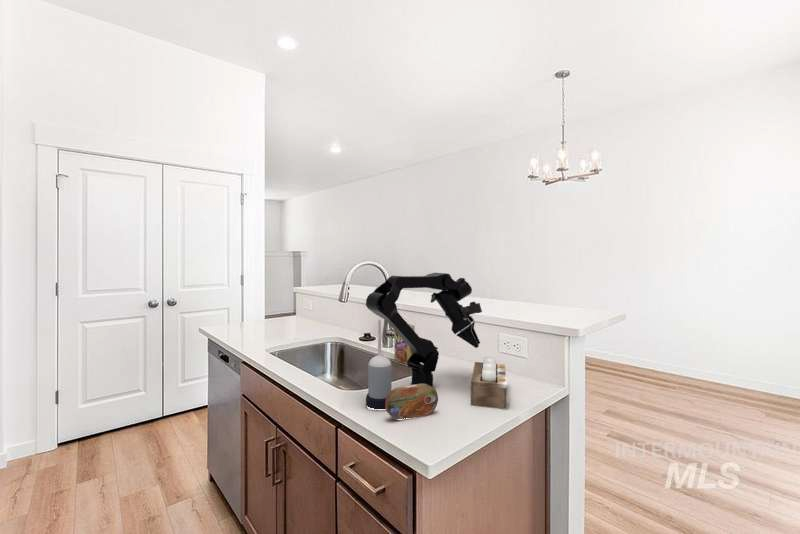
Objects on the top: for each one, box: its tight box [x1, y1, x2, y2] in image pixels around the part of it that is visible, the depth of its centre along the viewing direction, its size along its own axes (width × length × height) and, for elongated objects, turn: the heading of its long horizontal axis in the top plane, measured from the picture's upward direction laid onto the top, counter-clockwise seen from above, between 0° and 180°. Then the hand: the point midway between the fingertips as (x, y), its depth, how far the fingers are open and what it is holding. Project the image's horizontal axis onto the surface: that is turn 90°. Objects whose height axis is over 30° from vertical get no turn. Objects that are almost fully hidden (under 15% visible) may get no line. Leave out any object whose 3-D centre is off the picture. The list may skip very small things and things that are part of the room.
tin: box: [385, 383, 439, 421], centre depth 103 cm, size 15×3×8 cm, turn 114°
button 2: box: [483, 356, 497, 364], centre depth 125 cm, size 4×4×4 cm
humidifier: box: [365, 319, 393, 409], centre depth 109 cm, size 8×8×25 cm
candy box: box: [393, 323, 415, 365], centre depth 153 cm, size 9×4×15 cm, turn 36°
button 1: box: [482, 369, 496, 383], centre depth 112 cm, size 4×4×4 cm
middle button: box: [482, 362, 497, 371], centre depth 118 cm, size 4×4×4 cm
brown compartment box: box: [470, 361, 508, 410], centre depth 118 cm, size 10×20×7 cm, turn 166°
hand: (478, 345), depth 125 cm, fingers open, 9 cm apart
